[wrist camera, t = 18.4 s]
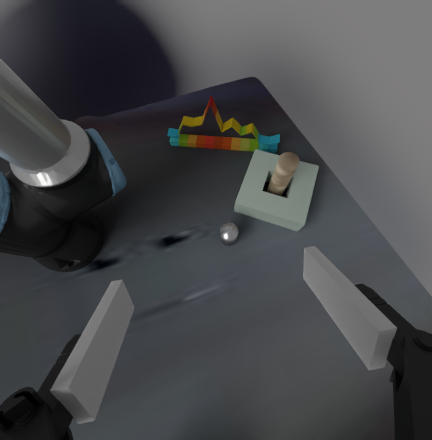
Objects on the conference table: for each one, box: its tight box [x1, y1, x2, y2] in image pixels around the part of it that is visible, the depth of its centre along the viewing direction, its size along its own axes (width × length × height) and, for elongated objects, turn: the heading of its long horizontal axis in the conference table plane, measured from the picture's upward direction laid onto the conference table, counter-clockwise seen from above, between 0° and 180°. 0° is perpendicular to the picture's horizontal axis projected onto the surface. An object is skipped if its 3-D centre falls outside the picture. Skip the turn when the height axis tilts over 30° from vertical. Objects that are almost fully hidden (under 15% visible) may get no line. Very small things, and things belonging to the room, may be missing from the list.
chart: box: [167, 96, 280, 153], centre depth 53 cm, size 30×3×15 cm, turn 83°
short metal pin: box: [220, 223, 238, 246], centre depth 47 cm, size 4×4×5 cm
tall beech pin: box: [266, 152, 300, 196], centre depth 47 cm, size 4×4×14 cm
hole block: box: [234, 149, 319, 231], centre depth 51 cm, size 16×16×5 cm
